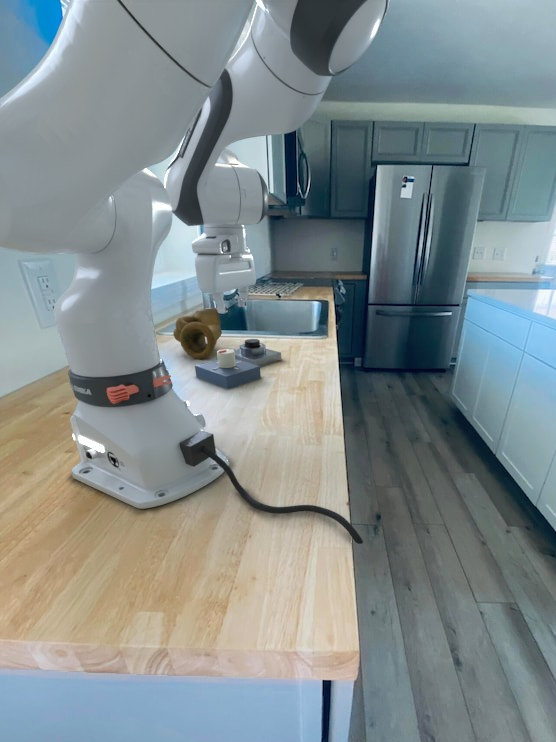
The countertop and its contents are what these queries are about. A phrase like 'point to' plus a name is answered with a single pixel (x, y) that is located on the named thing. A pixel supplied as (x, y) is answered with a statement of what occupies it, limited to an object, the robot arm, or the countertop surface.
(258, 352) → the housing
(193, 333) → the brown looped sculpture
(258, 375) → the panel
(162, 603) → the countertop surface
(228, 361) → the knob
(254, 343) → the button
